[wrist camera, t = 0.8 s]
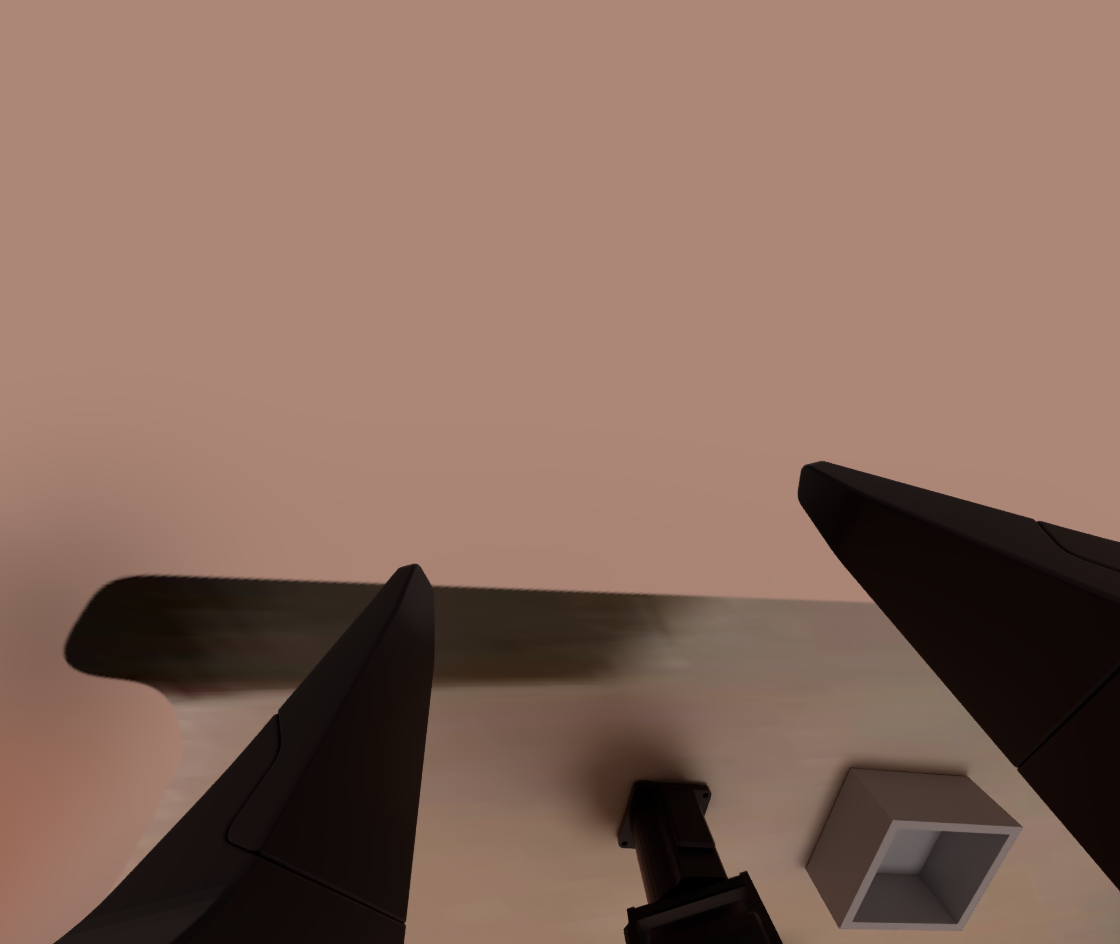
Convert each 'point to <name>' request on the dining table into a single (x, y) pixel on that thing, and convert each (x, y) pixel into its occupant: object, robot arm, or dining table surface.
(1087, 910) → the dining table surface
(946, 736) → the dining table surface
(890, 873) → the bin
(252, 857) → the robot arm
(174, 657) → the dining table surface
